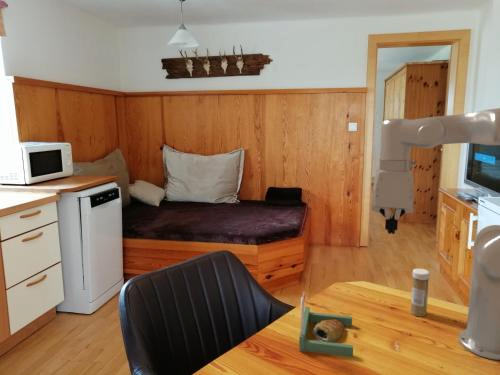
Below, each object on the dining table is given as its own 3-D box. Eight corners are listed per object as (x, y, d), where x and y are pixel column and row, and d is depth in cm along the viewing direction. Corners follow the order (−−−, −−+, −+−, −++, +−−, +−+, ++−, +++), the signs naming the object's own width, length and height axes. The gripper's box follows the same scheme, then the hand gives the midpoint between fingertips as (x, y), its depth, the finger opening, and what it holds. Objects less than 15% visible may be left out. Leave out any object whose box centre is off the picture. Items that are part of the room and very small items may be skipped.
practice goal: (351, 324, 111) (353, 278, 108) (352, 357, 96) (354, 305, 93) (305, 319, 114) (305, 274, 112) (299, 351, 99) (299, 300, 96)
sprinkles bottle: (429, 314, 116) (433, 271, 113) (420, 318, 113) (423, 275, 111) (415, 308, 120) (418, 266, 117) (406, 312, 117) (409, 270, 115)
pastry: (329, 322, 112) (329, 310, 112) (350, 331, 108) (350, 319, 107) (310, 336, 106) (310, 323, 105) (331, 346, 101) (332, 333, 100)
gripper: (422, 164, 105) (417, 230, 108) (364, 163, 108) (361, 227, 112) (427, 168, 98) (422, 238, 101) (365, 167, 101) (363, 235, 104)
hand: (390, 232), depth 106 cm, fingers closed
